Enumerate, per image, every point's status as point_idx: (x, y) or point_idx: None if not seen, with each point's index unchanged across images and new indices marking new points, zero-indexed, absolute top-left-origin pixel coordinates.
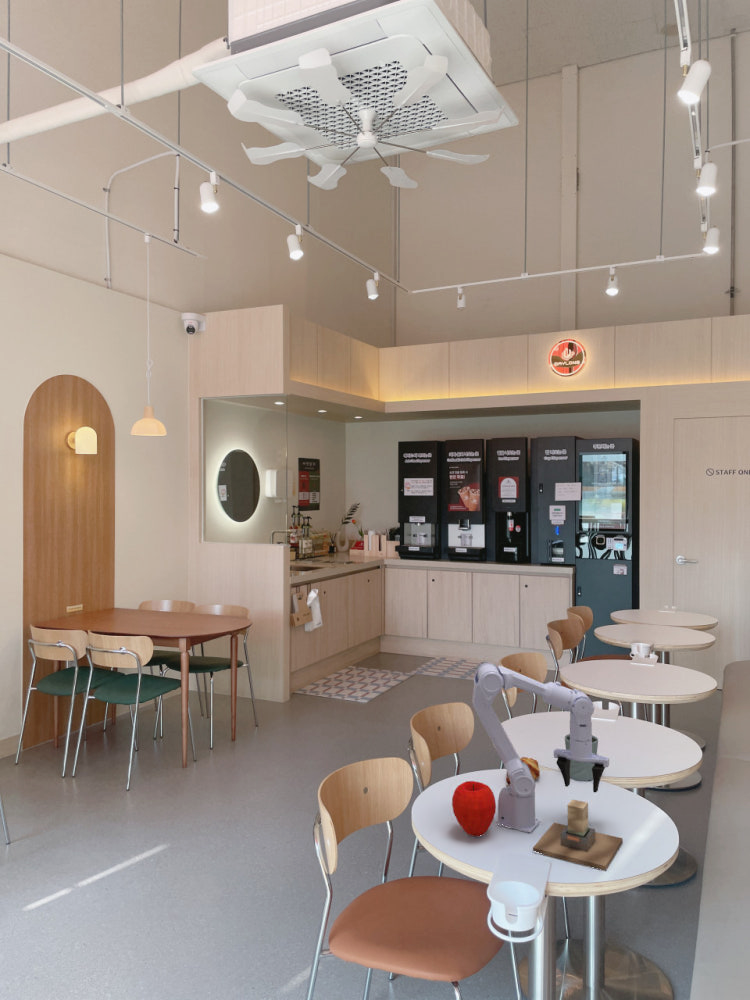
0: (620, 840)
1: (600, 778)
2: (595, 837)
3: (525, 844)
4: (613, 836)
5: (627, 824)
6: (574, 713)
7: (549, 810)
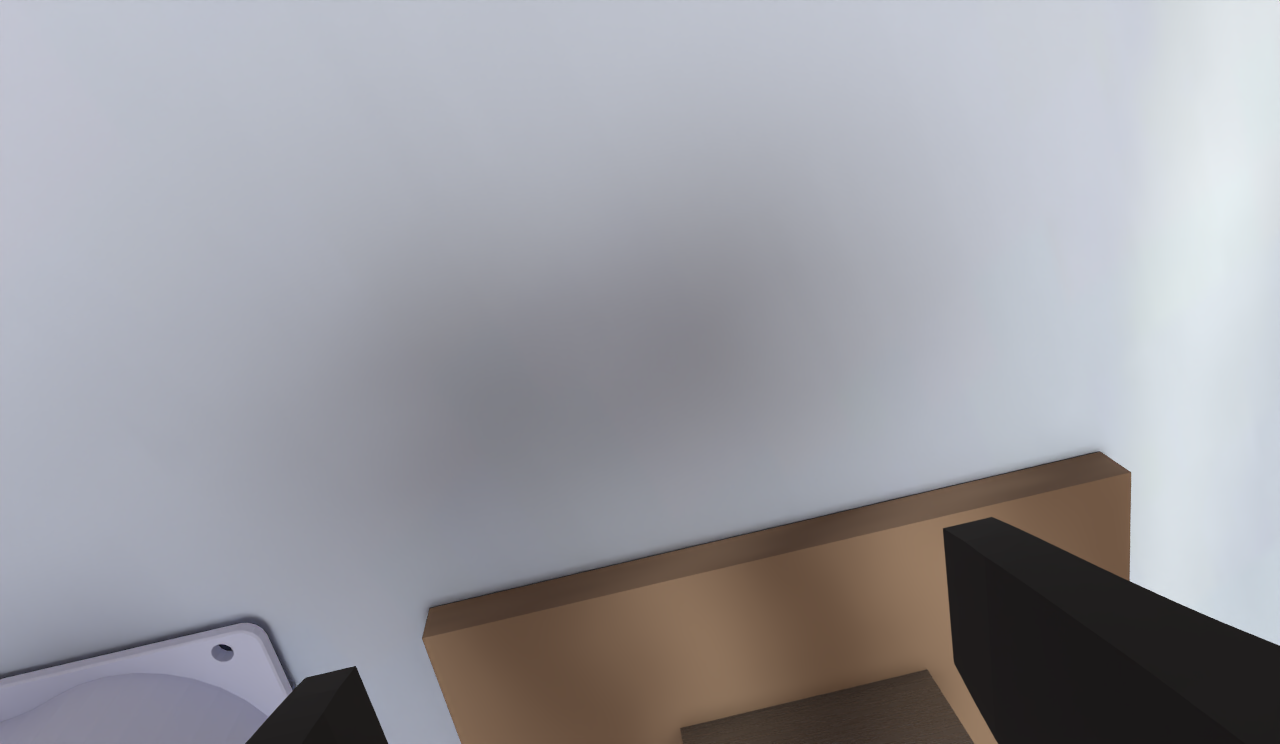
0: (1124, 523)
1: (1261, 642)
2: (940, 690)
3: None
4: (1043, 498)
5: (1030, 6)
6: None
7: (106, 313)
